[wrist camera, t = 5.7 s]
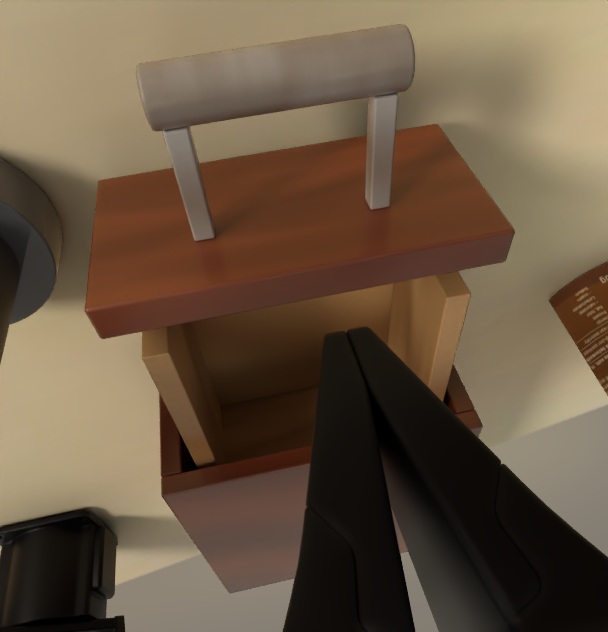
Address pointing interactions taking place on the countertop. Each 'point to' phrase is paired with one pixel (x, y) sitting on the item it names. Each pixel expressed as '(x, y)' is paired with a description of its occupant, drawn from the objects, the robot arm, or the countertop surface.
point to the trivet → (29, 238)
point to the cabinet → (255, 502)
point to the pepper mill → (7, 289)
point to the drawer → (286, 240)
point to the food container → (587, 318)
